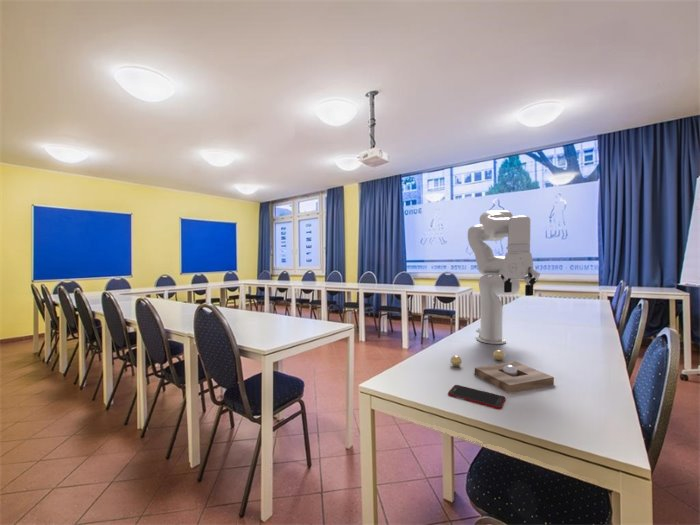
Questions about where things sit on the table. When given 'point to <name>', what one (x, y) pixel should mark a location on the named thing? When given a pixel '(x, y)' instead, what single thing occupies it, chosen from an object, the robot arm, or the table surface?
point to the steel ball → (510, 370)
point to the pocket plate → (522, 382)
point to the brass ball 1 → (456, 361)
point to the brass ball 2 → (498, 355)
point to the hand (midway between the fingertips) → (518, 293)
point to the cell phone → (477, 396)
